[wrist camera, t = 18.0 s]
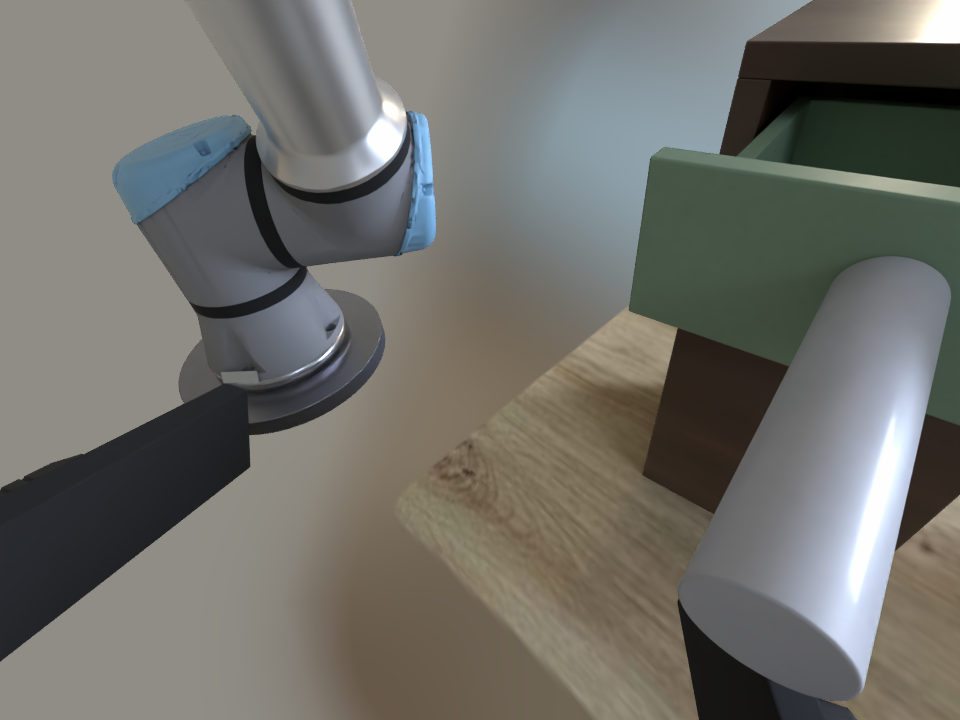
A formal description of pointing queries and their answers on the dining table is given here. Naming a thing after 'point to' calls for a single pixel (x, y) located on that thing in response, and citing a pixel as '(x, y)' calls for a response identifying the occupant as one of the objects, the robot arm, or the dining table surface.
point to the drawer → (814, 362)
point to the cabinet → (756, 104)
